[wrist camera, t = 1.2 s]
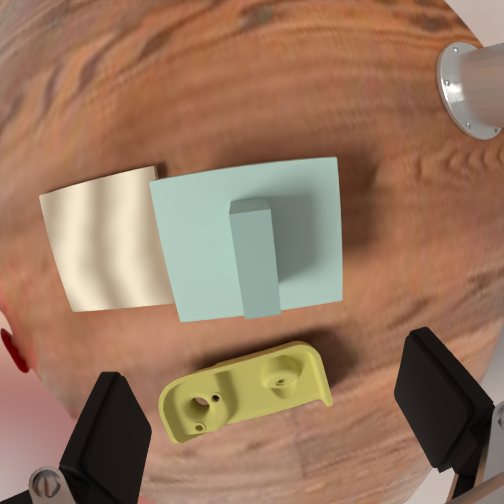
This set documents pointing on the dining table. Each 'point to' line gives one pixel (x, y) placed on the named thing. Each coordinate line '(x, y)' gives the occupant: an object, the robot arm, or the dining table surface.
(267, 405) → the plastic component
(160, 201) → the lid
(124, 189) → the board
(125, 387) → the robot arm
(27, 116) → the dining table surface
